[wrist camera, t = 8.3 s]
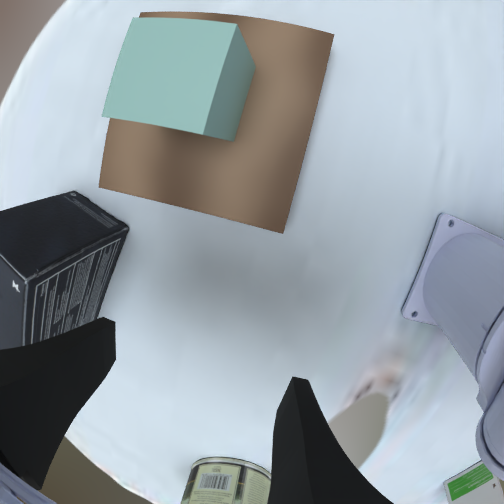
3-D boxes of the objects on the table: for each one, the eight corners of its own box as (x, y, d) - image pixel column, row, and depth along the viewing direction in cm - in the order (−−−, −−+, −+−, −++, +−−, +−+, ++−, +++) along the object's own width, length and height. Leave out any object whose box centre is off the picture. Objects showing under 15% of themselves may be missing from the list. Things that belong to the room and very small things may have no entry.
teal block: (256, 66, 14) (237, 23, 9) (233, 141, 16) (202, 134, 10) (180, 54, 14) (132, 17, 9) (159, 125, 16) (101, 116, 10)
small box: (71, 185, 20) (-35, 214, 11) (132, 225, 21) (30, 281, 11) (46, 286, 24) (-30, 339, 14) (96, 325, 24) (26, 397, 14)
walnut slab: (329, 48, 15) (334, 34, 13) (284, 224, 19) (282, 233, 17) (156, 24, 16) (140, 12, 14) (118, 182, 20) (98, 187, 18)
